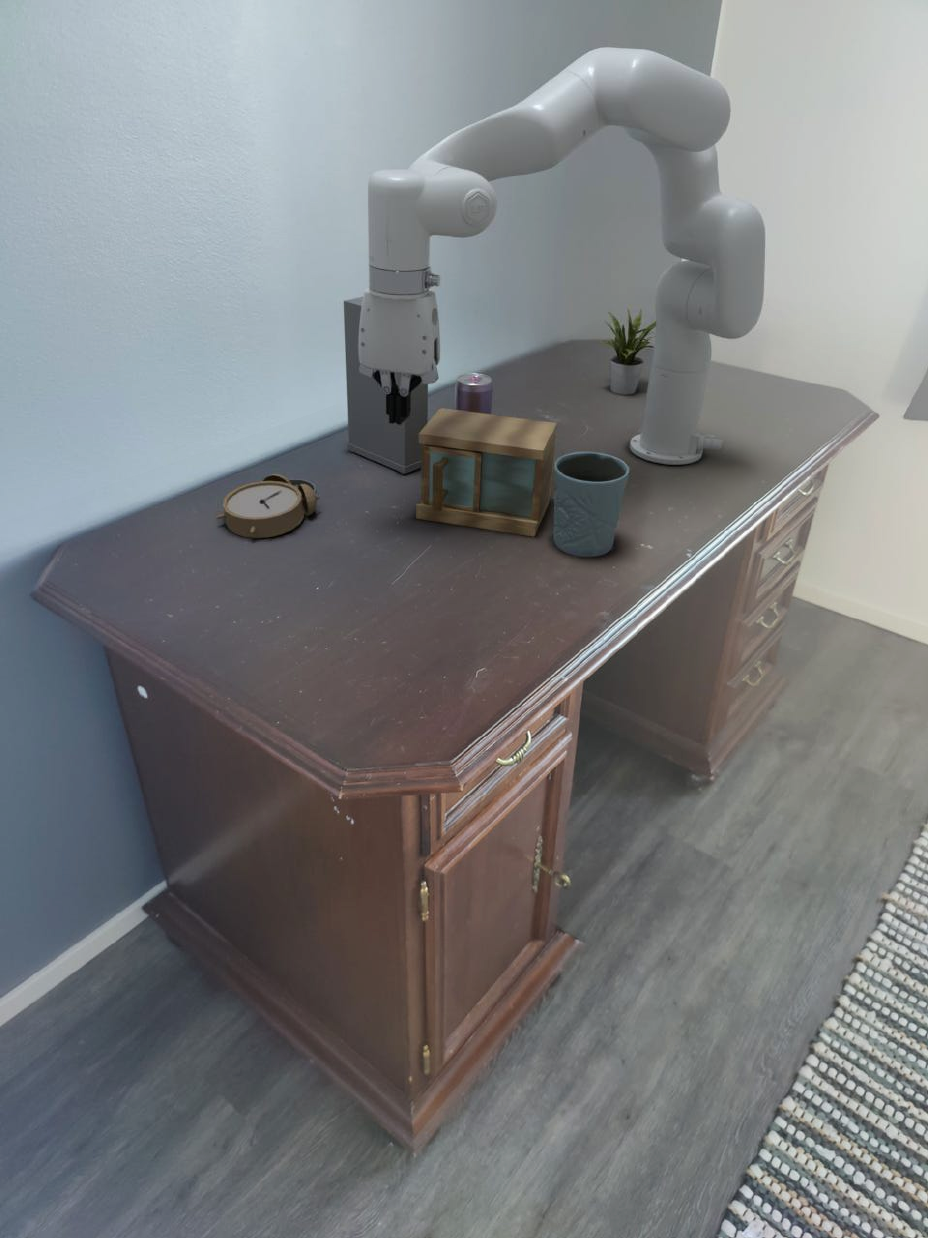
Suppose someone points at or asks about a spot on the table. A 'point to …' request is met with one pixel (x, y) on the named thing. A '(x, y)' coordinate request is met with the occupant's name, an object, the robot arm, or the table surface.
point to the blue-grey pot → (587, 502)
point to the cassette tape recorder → (379, 409)
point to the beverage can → (473, 393)
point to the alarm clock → (269, 506)
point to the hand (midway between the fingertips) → (398, 420)
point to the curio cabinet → (497, 468)
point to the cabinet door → (452, 478)
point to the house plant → (627, 355)
